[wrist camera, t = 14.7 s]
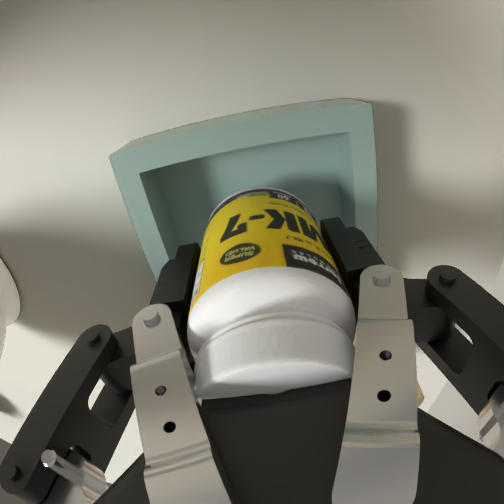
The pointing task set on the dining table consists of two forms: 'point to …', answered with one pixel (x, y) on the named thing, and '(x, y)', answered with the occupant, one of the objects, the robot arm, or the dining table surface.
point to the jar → (7, 302)
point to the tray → (249, 170)
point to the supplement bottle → (267, 301)
